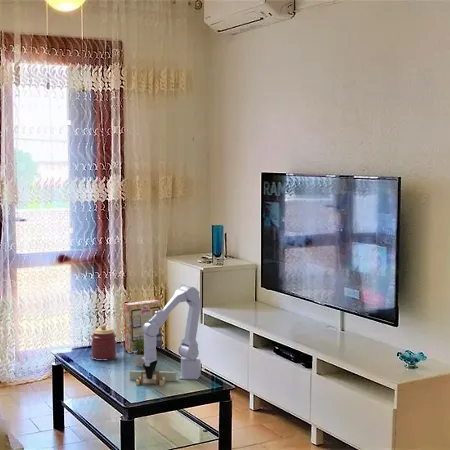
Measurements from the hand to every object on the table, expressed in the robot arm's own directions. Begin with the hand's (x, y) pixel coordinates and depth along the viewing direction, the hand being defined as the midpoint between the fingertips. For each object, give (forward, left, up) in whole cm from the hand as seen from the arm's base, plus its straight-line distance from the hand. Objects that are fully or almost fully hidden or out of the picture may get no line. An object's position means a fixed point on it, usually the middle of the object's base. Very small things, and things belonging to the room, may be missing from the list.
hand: (150, 377), depth 335 cm
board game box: (+17, -63, -3) cm, 66 cm away
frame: (0, 0, -3) cm, 3 cm away
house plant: (+12, -30, -3) cm, 33 cm away
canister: (+34, -44, -3) cm, 56 cm away
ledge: (0, -2, -3) cm, 4 cm away
